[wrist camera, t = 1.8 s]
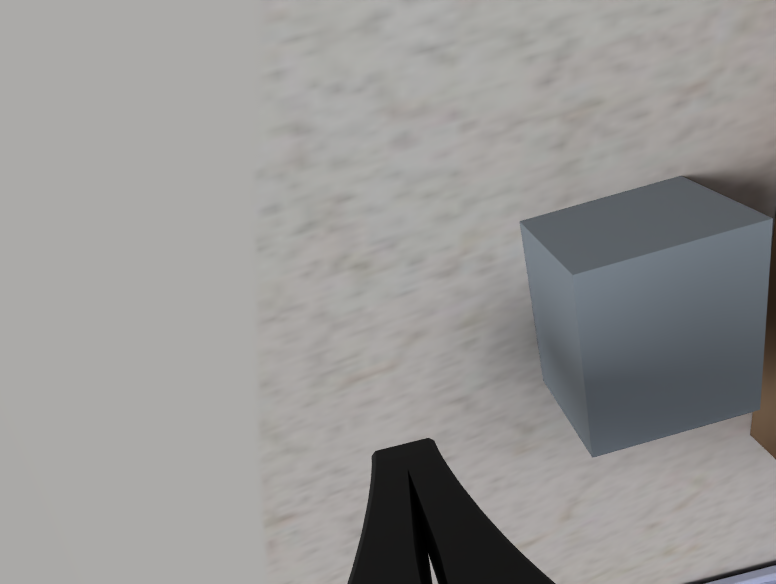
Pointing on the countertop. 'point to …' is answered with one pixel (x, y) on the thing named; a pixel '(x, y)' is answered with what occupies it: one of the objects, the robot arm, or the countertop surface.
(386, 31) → the countertop surface
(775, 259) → the walnut board
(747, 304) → the slate block
